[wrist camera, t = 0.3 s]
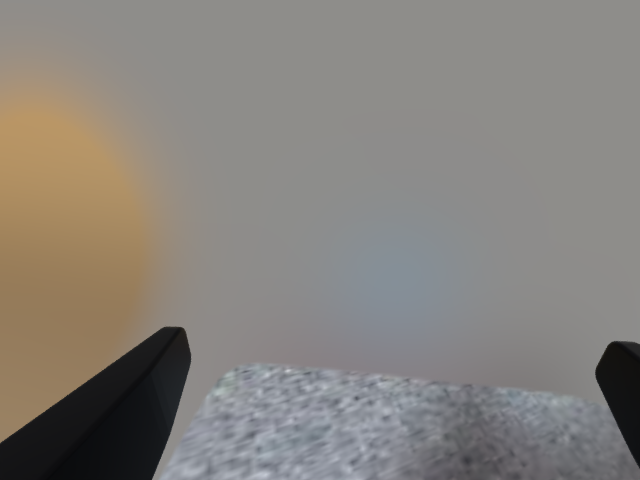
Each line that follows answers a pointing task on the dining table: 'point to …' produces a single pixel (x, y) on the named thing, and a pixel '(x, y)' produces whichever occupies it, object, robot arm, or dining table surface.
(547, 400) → the dining table surface
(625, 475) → the dining table surface
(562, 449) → the dining table surface
